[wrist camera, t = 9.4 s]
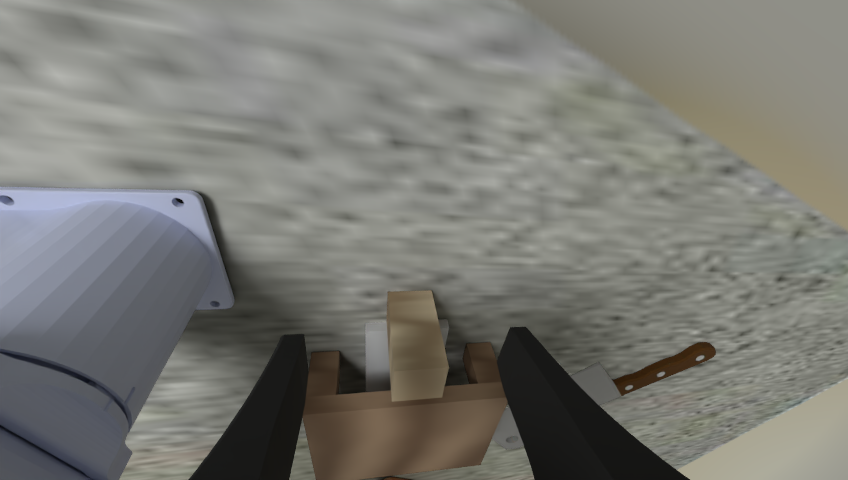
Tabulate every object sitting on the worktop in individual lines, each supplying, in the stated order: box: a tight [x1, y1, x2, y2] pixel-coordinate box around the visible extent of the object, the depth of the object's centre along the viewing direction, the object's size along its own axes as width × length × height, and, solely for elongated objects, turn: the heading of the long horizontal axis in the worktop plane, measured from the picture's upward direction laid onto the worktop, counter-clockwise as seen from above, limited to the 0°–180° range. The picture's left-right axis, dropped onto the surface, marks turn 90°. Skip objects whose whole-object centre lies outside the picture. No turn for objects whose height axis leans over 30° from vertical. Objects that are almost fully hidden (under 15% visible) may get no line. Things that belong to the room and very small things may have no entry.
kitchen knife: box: [492, 342, 716, 449], centre depth 34 cm, size 24×1×10 cm
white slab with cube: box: [366, 291, 449, 402], centre depth 25 cm, size 6×16×6 cm, turn 174°
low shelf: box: [303, 342, 508, 480], centre depth 28 cm, size 14×11×5 cm
